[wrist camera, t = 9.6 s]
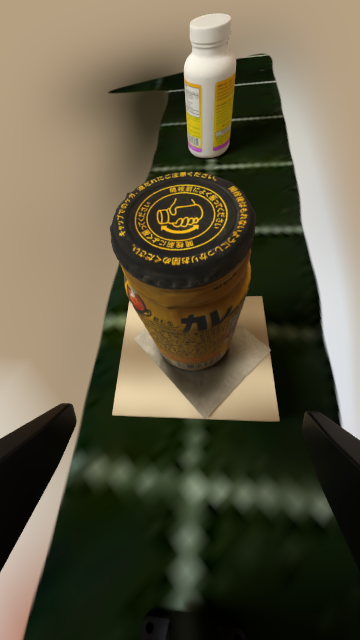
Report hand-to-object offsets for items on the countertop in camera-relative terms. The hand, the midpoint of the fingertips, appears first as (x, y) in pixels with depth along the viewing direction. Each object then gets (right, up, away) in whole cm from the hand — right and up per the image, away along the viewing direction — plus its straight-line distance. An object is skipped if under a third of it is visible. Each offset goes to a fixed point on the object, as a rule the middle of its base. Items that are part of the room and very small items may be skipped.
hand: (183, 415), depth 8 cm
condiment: (+2, +2, +10) cm, 10 cm away
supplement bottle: (+5, +32, +28) cm, 43 cm away
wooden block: (+1, 0, +13) cm, 13 cm away
